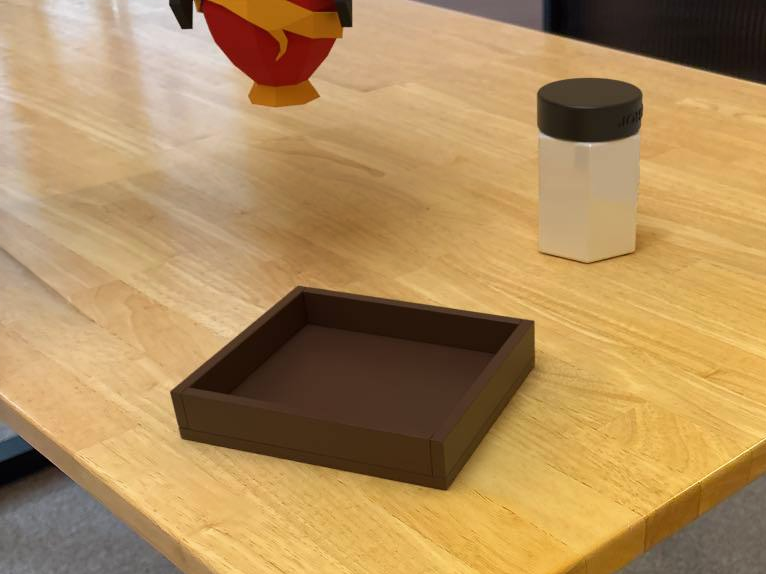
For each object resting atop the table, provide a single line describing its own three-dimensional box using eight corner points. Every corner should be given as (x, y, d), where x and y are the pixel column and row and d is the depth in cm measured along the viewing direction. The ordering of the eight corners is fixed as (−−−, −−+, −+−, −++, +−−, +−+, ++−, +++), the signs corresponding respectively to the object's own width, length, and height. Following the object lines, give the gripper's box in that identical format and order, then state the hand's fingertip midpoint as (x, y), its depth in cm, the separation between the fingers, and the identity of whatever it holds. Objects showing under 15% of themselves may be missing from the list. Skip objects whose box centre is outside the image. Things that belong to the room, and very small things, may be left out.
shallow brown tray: (180, 438, 66) (169, 391, 64) (304, 327, 78) (297, 284, 76) (446, 490, 62) (442, 441, 60) (535, 364, 73) (534, 320, 71)
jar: (639, 264, 86) (647, 108, 79) (536, 264, 86) (536, 108, 79) (632, 221, 93) (640, 75, 86) (538, 221, 93) (537, 75, 86)
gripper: (432, -237, 79) (436, 46, 76) (119, -235, 79) (112, 50, 76) (423, -332, 72) (427, -22, 69) (78, -331, 71) (68, -18, 68)
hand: (262, 16), depth 72 cm, fingers closed on potion bottle, 10 cm apart
